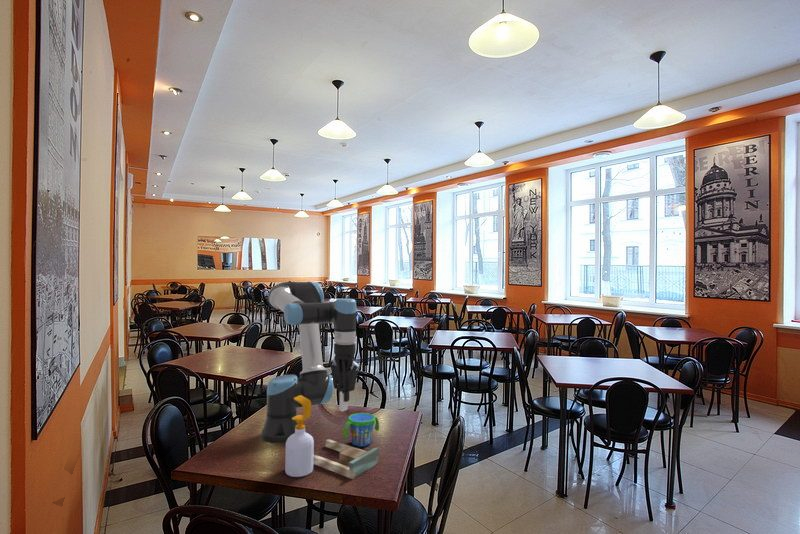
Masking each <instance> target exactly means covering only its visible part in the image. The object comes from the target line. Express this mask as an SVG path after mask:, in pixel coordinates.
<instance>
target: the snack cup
mask: <svg viewBox="0 0 800 534" xmlns="http://www.w3.org/2000/svg"><path fill="white" fill-rule="evenodd" d="M348 428H349V432H350V439H351V443H352V445H353V446H356V447H366V446H368V445H371V443H372V439H373V433H374V430H375V431H377V432H378V431H379V430H380V423H379V419H378V417H377V416H375V415H374V414H372V413H367V412H358V413H357V412H356V413H352V414H350V415H349V416H348V420H347V422H346V423H345V424H344V427H343V432H342V436H343V438H344V440H348Z"/></svg>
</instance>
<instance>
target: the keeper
mask: <svg viewBox="0 0 800 534" xmlns="http://www.w3.org/2000/svg"><path fill="white" fill-rule="evenodd" d="M352 447H353V446H351V447H350V448H348V449H346V450H344V451H342V452H339V454H338V461H339V462H338V463H339V464H342V465H345V466H348V467H349V462H351V461H353V460H354V459H356V458H358V457H359V456H361V455H363V454H365V453H366V452H365V451H366V450H364V451H362V450H363V449H361V450H359V449H360V448H358V449H355V448H356V447H354V448H352Z"/></svg>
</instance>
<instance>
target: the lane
mask: <svg viewBox="0 0 800 534" xmlns="http://www.w3.org/2000/svg"><path fill="white" fill-rule="evenodd" d="M324 447H325V448H328V449H330V450H333V451H336V452H339V453H341V452H342V451H344V450H346V449H348V448H350V447H352V448H355V449H359V450H362V451H365V452H366V453H365V454H363V455H361V456H359V457H358V458H356V459H354V460H353V461H351V462H349V467H348V466H345V465H342V464H339V462H337V461H333V460H331V459H328V458H326V457H323V456H321V455H318V454H314V455H313V465H315V466H318V467H320V468H323V469H325V470H327V471H331V472H334V473H335V474H337V475H341V476H343V477H346V478H348V479H351V480H354V479H355V478H357V477H358V476H360V475H362V474H363V473H365V472H366V471H368V470H369V469H371V468H373V467H374V466H376V465H378V464H379V461H380V460H379V457H380V456H379V455H380V454H379V453H380V449H379V447H374V448H371V449H369V450H368V451H367V450H363V449H360V448H358V447H354V446H351V445H349V444H346V443H343V442H342V443H341V442H339V441H336V440H332V439H330V438H328V439H325V446H324Z"/></svg>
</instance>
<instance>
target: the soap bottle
mask: <svg viewBox="0 0 800 534" xmlns="http://www.w3.org/2000/svg"><path fill="white" fill-rule="evenodd" d="M294 400H295V401H297V402H299V403H300V404H302V406H303V407H302V414H297V416H295V417H293V418H292V420H296V422H297V423H298V425H296V426H295V433H294V434H292V435H291V436H290V437H289V438H288V439H287V441H286V442H285V459H284V461H285V463H284V465H285V466H284V467H285V468H284V470H285V474H286V475H287V476H288V477H292V478H300V477H305V476H308V475H310V474H312V472H313V471H314V464H313V455H314V452H315V451H314V449H315V448H314V447H315V443H314V442H315V440H314V437H313V436H312V435H311V434H310V433H308V432H306V424H304V423H305V421H306V420H308V419H309V418H311V416H312V405H311V401H310V400H309V399H307V398H306V397H304V396H302V395H299V396H297V397H295V398H294Z"/></svg>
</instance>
